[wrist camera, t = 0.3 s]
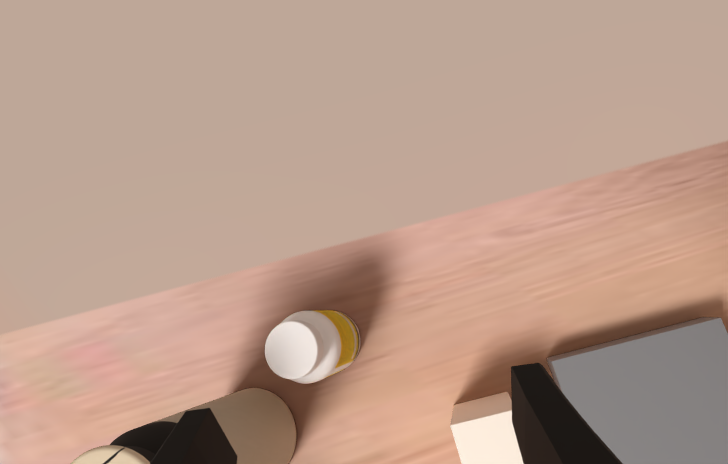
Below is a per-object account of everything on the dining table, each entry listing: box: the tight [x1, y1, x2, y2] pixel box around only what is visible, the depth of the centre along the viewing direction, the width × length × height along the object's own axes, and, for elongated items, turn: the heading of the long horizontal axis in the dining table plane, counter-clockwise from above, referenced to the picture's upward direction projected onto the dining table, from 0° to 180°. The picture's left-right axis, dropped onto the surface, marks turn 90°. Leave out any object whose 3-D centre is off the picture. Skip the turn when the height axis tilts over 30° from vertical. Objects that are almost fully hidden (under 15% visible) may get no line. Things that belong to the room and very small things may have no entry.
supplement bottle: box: [265, 310, 360, 384], centre depth 37 cm, size 5×5×10 cm
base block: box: [546, 317, 728, 464], centre depth 34 cm, size 12×12×2 cm
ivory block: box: [450, 392, 524, 464], centre depth 34 cm, size 4×4×7 cm
